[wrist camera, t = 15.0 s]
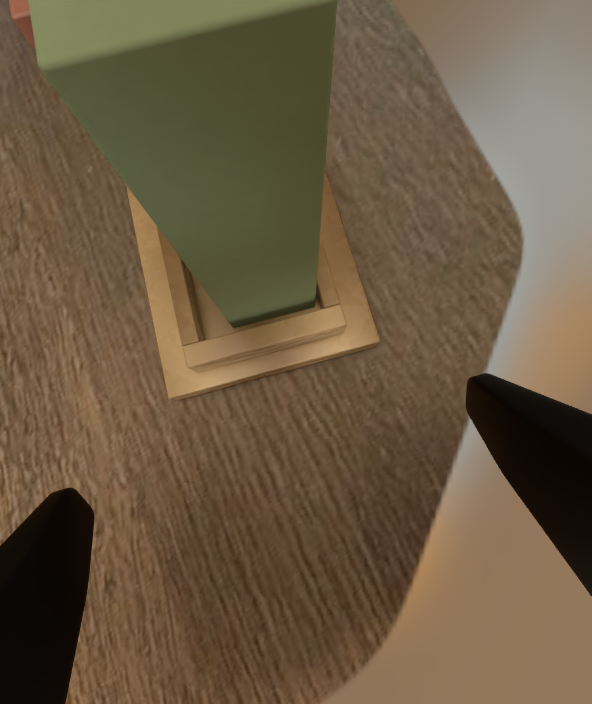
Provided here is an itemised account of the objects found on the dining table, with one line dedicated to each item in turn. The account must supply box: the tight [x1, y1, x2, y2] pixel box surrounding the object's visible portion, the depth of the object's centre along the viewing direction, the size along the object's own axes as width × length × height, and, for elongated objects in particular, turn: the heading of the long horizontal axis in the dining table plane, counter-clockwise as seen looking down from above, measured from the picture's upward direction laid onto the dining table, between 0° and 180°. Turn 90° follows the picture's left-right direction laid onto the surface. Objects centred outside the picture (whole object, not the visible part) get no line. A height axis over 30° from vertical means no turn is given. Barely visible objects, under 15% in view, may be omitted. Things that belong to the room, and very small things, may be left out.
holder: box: [9, 0, 380, 400], centre depth 14 cm, size 10×18×11 cm, turn 15°
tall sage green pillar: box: [28, 0, 337, 328], centre depth 12 cm, size 4×6×13 cm
